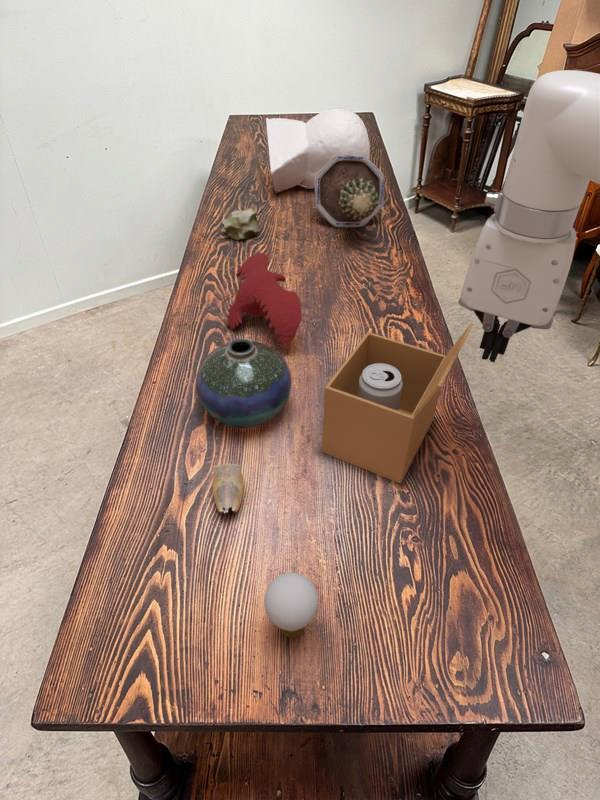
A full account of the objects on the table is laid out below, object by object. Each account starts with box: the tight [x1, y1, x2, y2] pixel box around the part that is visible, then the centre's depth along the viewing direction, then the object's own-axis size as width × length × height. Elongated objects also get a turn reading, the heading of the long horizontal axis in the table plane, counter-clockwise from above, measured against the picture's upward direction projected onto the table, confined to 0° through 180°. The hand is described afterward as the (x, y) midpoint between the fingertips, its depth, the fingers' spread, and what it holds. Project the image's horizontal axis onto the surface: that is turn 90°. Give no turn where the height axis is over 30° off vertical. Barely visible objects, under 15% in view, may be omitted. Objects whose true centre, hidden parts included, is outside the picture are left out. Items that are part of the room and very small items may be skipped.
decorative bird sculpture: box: [226, 252, 303, 346], centre depth 107 cm, size 28×9×15 cm
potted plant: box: [314, 154, 385, 229], centre depth 135 cm, size 18×18×30 cm
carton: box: [321, 331, 446, 484], centre depth 82 cm, size 13×15×14 cm
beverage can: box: [358, 363, 403, 411], centre depth 82 cm, size 6×6×12 cm
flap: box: [414, 322, 475, 416], centre depth 72 cm, size 6×15×1 cm
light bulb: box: [263, 572, 319, 639], centre depth 60 cm, size 6×6×10 cm
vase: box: [195, 338, 293, 429], centre depth 86 cm, size 15×15×13 cm
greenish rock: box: [221, 207, 263, 241], centre depth 136 cm, size 9×9×8 cm
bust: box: [265, 107, 371, 194], centre depth 154 cm, size 30×22×24 cm
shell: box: [212, 462, 244, 515], centre depth 76 cm, size 8×4×5 cm, turn 14°
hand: (490, 354), depth 67 cm, fingers closed
